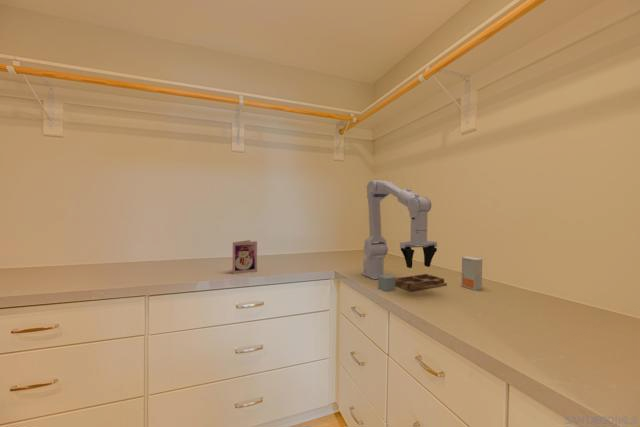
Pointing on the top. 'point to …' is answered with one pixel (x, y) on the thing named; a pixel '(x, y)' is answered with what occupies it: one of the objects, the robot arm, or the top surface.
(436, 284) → the slot rack
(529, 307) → the top surface
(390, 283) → the slate block
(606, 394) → the top surface
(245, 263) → the greeting card
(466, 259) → the skincare box
